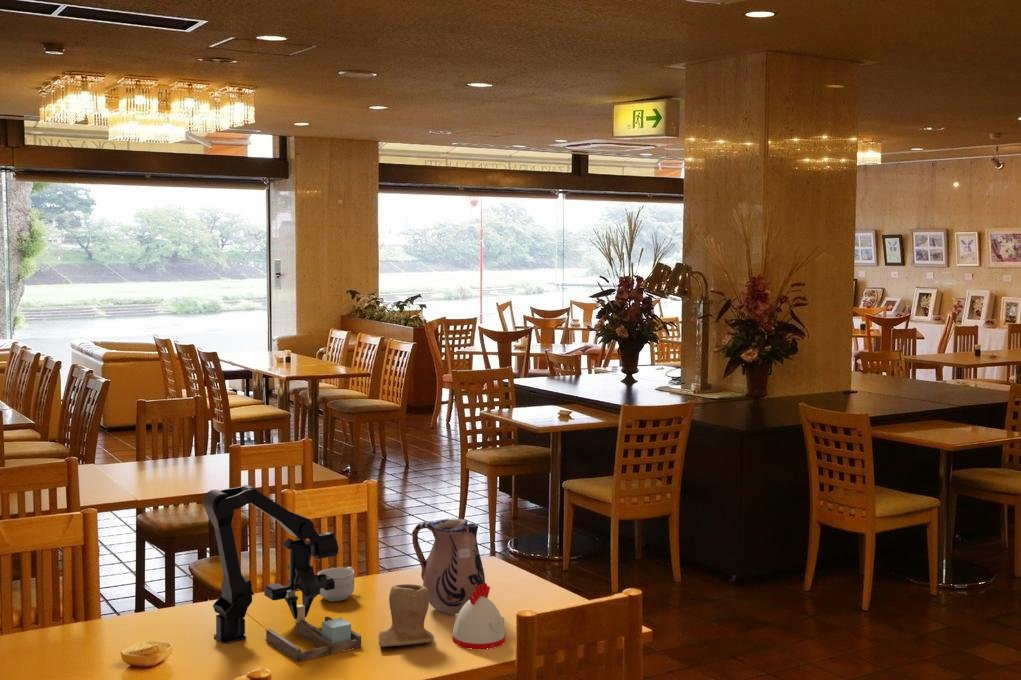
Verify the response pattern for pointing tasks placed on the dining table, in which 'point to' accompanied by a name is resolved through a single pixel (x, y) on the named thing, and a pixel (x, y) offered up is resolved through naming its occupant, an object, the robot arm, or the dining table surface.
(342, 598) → the teacup
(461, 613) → the kitchen timer
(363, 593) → the dining table surface
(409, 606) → the stone cup
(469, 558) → the ceramic pitcher
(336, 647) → the lane rack
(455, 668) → the dining table surface
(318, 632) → the mallet
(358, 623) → the dining table surface
